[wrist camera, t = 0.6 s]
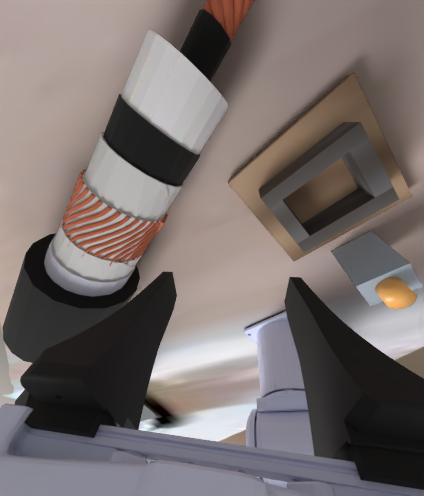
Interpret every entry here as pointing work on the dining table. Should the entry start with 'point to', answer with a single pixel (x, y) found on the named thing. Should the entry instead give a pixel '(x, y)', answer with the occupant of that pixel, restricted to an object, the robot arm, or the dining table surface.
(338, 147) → the holder
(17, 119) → the dining table surface
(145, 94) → the cable
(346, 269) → the connector
